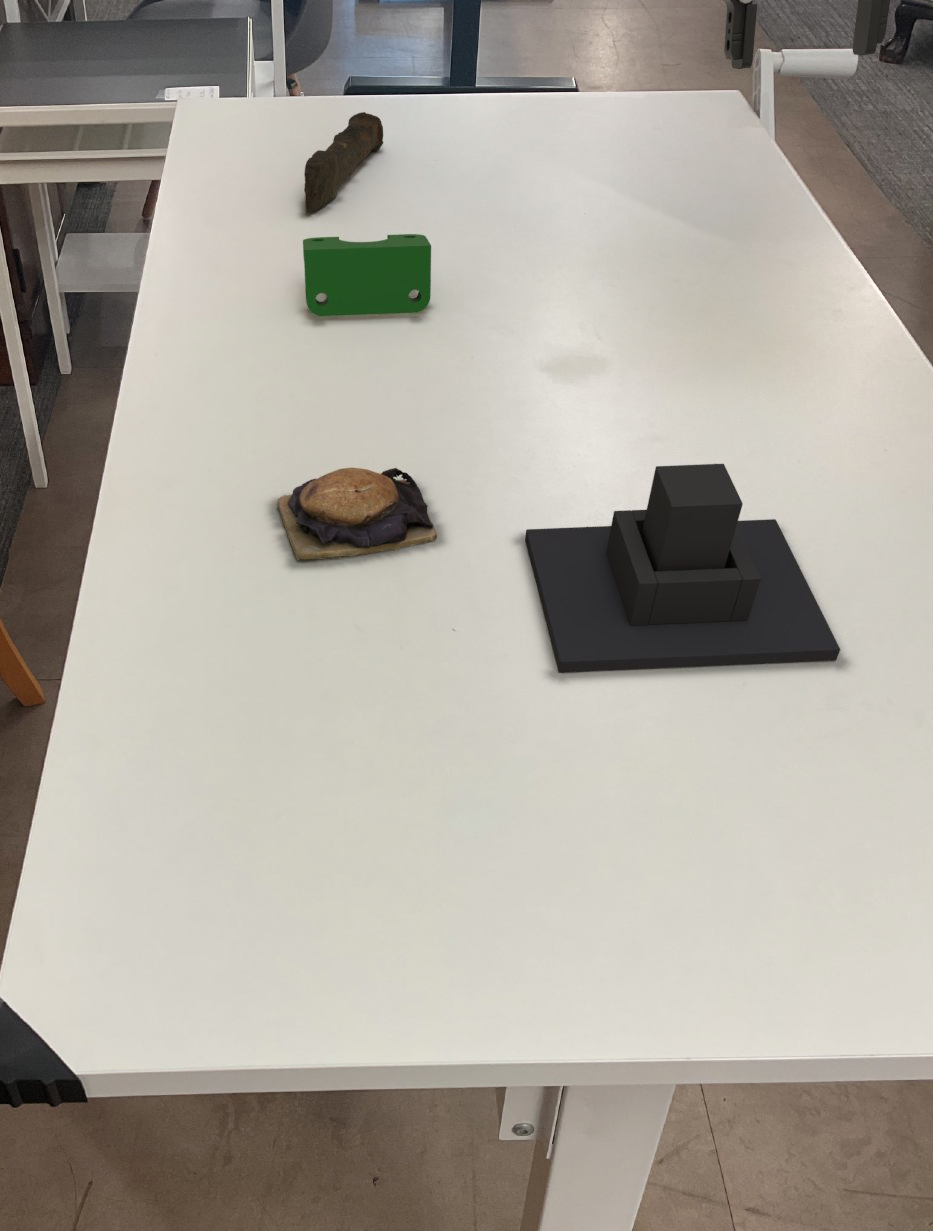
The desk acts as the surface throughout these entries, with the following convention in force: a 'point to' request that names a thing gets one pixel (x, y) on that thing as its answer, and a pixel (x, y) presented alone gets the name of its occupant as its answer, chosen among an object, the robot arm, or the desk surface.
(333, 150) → the dark brown lumpy bar
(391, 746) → the desk surface
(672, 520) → the rectangular block
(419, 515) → the bread roll
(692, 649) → the base pad
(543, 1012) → the desk surface
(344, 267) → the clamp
